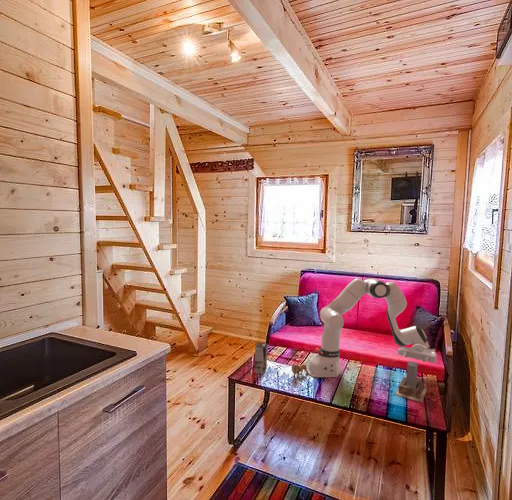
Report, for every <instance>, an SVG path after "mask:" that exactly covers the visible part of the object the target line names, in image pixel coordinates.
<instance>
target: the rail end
mask: <svg viewBox="0 0 512 500" xmlns="http://www.w3.org/2000/svg"><path fill="white" fill-rule="evenodd" d="M406 367H407V368H406V378H407V381H406V386H408V387H412V388H416V389H417V380H418V362H417V361H415V362H414V361H412V360H411V361H410V360H409V361H408V363H407V365H406Z"/></svg>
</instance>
